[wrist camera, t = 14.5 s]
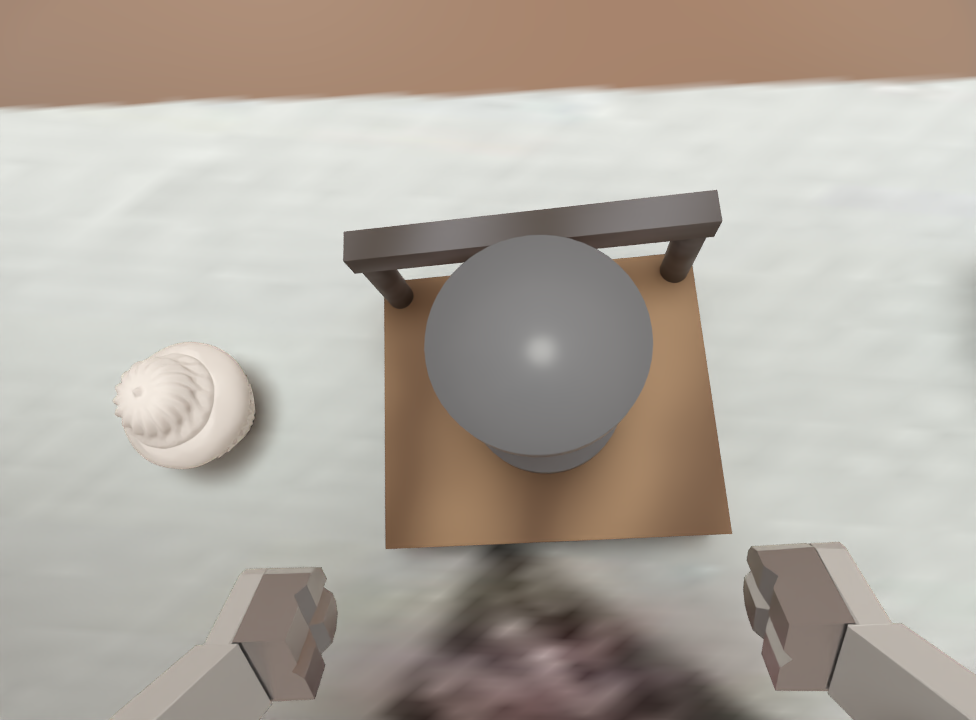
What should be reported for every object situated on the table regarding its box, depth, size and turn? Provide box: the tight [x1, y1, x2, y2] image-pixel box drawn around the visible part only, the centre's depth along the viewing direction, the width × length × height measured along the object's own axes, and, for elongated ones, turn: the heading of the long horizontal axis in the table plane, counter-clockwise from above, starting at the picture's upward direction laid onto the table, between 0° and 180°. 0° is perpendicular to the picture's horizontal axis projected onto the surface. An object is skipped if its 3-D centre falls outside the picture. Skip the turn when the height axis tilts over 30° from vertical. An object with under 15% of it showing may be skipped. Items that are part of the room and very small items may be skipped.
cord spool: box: [424, 235, 653, 474], centre depth 21 cm, size 6×6×9 cm
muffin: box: [113, 342, 256, 469], centre depth 28 cm, size 6×6×7 cm
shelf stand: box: [343, 190, 732, 549], centre depth 24 cm, size 14×12×10 cm
